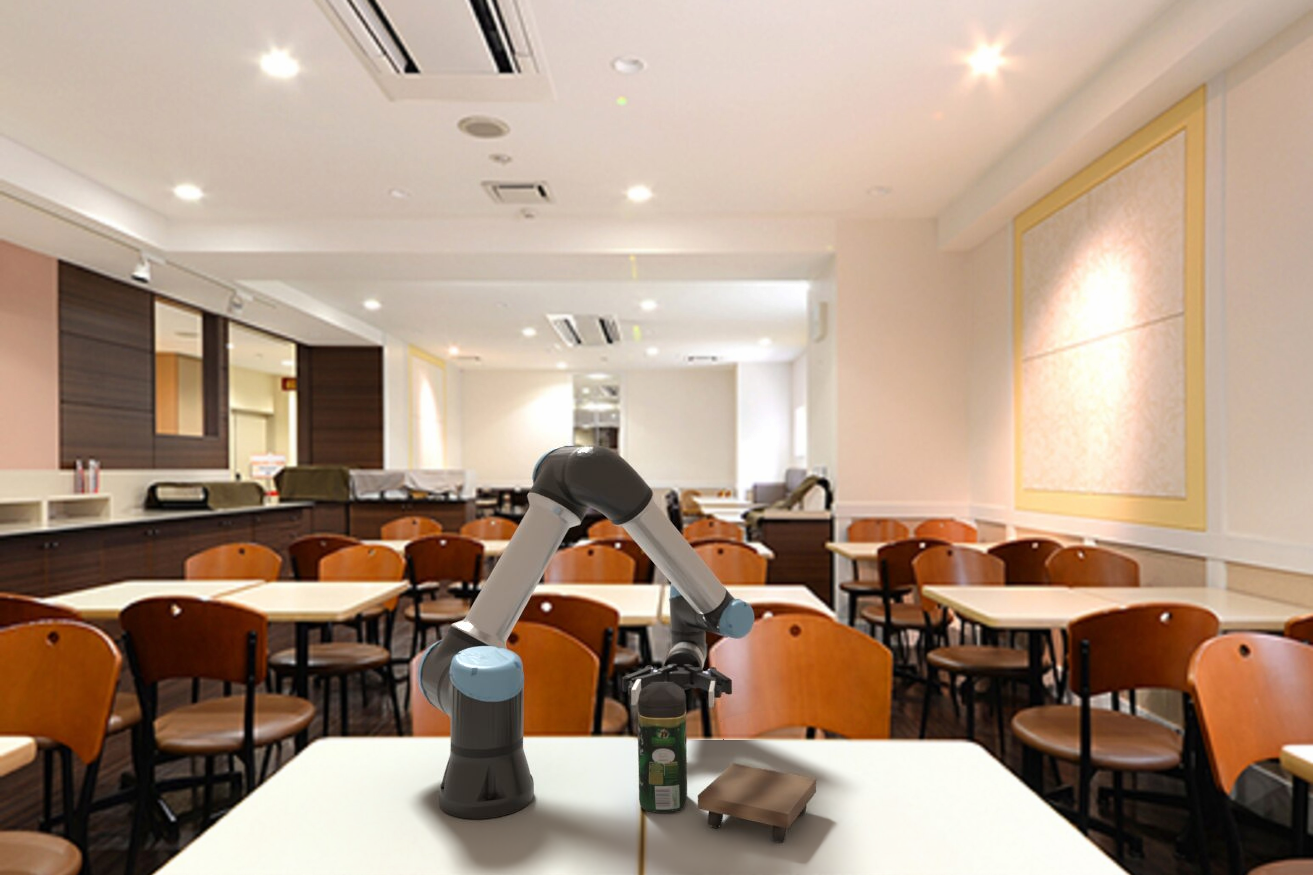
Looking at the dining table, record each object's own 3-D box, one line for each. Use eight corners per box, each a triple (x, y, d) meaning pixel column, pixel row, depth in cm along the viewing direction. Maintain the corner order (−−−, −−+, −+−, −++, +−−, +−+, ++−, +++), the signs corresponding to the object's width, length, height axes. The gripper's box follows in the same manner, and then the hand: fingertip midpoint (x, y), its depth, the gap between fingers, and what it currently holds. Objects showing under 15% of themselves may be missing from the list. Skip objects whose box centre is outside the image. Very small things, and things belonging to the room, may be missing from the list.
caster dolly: (697, 828, 118) (697, 794, 118) (733, 793, 131) (733, 763, 131) (788, 849, 112) (788, 813, 112) (816, 810, 124) (816, 778, 124)
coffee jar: (639, 789, 133) (639, 677, 133) (687, 789, 132) (686, 677, 133) (636, 815, 123) (635, 694, 124) (687, 815, 123) (686, 694, 123)
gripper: (746, 686, 157) (744, 722, 136) (622, 683, 161) (601, 718, 140) (745, 648, 157) (743, 678, 136) (622, 646, 161) (601, 675, 140)
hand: (671, 698), depth 138 cm, fingers open, 13 cm apart
